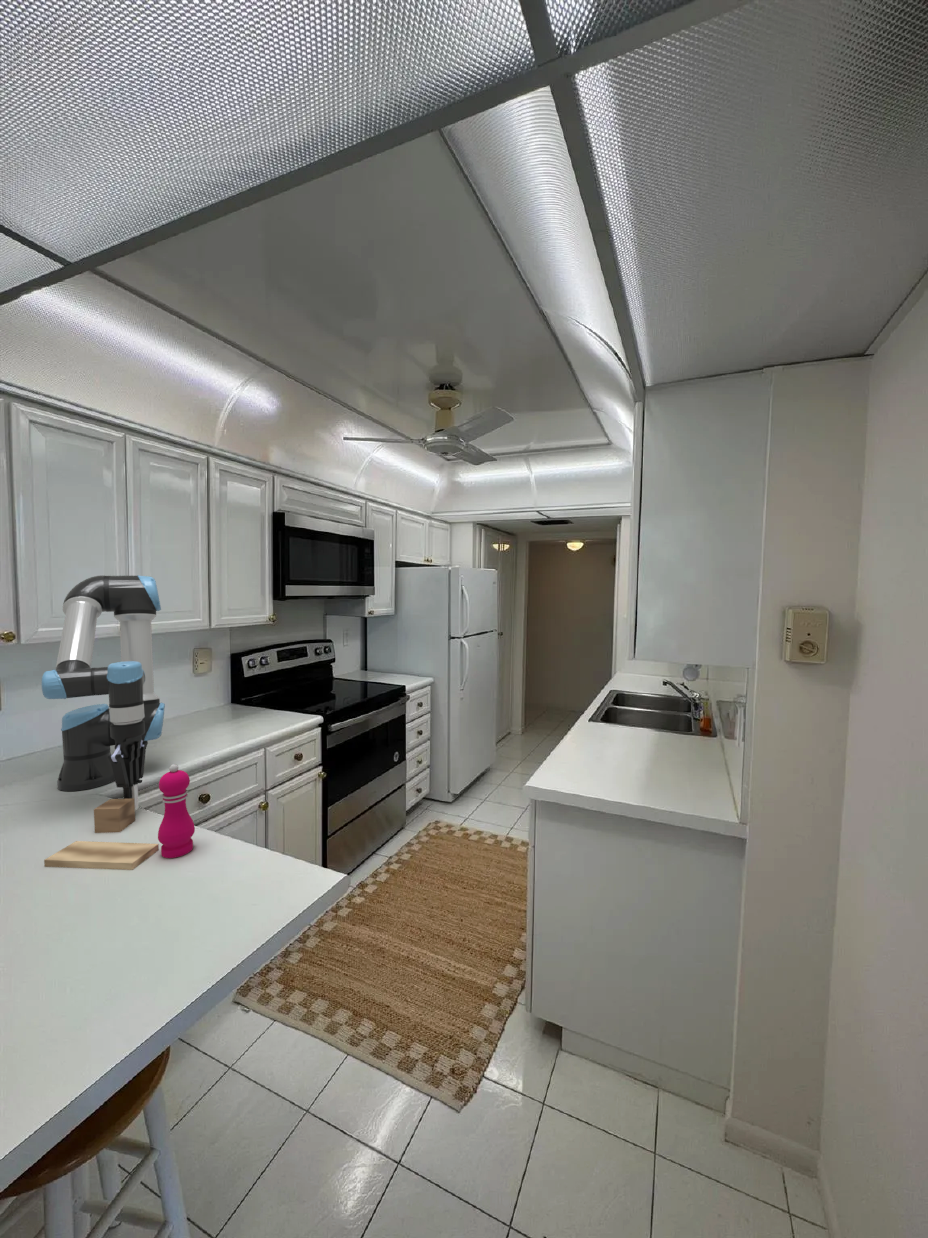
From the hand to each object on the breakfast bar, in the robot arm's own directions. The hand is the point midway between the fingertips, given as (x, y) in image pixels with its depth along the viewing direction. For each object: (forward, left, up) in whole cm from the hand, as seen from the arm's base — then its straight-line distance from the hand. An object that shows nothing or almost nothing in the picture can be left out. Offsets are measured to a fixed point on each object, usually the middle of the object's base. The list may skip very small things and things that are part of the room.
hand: (131, 809), depth 130 cm
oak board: (+21, +7, -2) cm, 23 cm away
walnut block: (+6, 0, -2) cm, 7 cm away
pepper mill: (+19, +22, -2) cm, 29 cm away
